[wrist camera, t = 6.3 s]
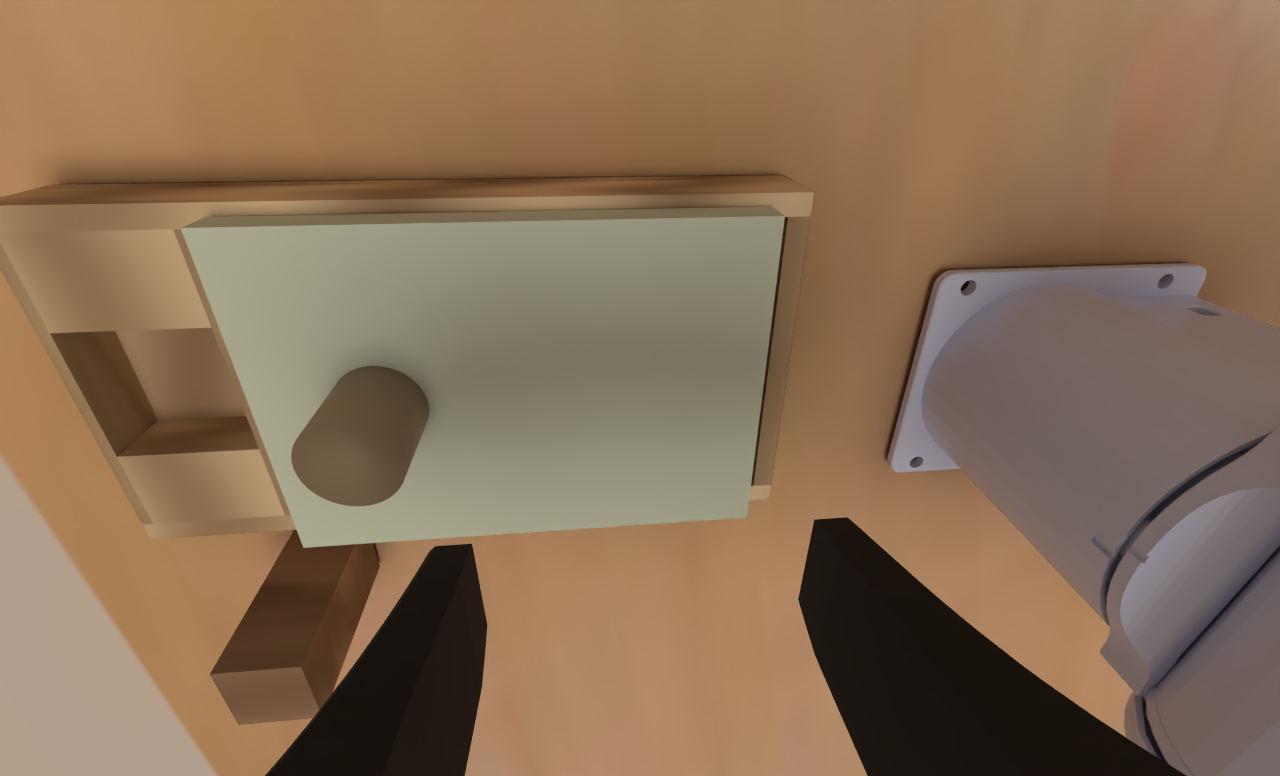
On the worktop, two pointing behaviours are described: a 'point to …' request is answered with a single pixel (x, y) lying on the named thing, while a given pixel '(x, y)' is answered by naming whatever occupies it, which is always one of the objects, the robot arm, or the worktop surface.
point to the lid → (498, 364)
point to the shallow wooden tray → (195, 350)
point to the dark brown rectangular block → (296, 632)
